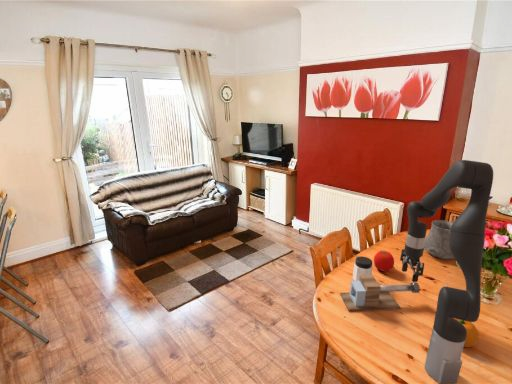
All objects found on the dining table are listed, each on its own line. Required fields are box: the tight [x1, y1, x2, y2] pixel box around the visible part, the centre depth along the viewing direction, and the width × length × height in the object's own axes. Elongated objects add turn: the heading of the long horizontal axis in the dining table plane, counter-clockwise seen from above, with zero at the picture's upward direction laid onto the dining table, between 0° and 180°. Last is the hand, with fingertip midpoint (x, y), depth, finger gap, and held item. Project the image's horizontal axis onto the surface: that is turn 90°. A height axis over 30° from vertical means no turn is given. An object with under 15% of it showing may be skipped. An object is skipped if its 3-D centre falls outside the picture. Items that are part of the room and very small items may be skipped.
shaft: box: [379, 282, 421, 294], centre depth 138 cm, size 24×5×5 cm, turn 93°
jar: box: [352, 255, 373, 281], centre depth 154 cm, size 9×8×12 cm
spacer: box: [349, 280, 366, 306], centre depth 137 cm, size 8×4×8 cm, turn 3°
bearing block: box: [339, 275, 402, 312], centre depth 138 cm, size 12×24×12 cm, turn 93°
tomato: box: [373, 250, 395, 272], centre depth 164 cm, size 10×11×11 cm
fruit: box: [454, 318, 480, 348], centre depth 116 cm, size 12×12×10 cm
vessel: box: [424, 219, 455, 260], centre depth 178 cm, size 22×22×20 cm
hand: (409, 276), depth 136 cm, fingers open, 8 cm apart
